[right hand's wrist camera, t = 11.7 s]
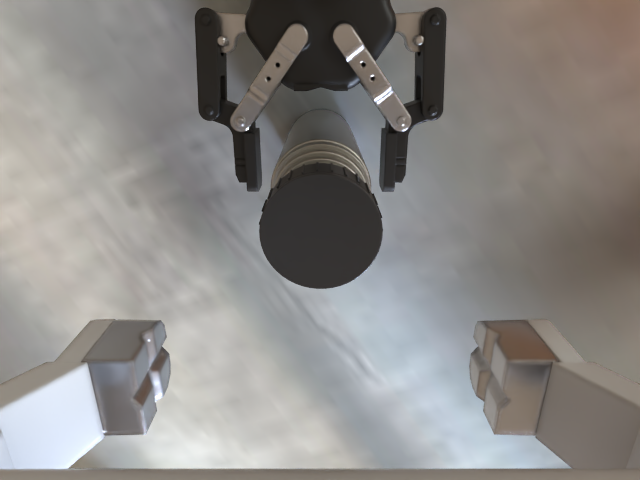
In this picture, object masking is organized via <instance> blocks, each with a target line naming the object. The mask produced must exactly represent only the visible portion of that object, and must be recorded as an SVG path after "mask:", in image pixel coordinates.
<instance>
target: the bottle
mask: <svg viewBox="0 0 640 480" xmlns="http://www.w3.org/2000/svg"><path fill="white" fill-rule="evenodd" d="M316 162H319V163H327V164H330V163H333V164H334V165H338V166H341V167H346V169H348V170H349V171H351V172H353V173H354V174H356V173H357V174H358V177H360V178H361V179H362V180H363V181H364V182H365V183H367V184H368V187H369V189H370V191H371V180H370V176H369V172H368V170H367V167H366V165H365V162H364V160H363V158H362V155H361V153H360V150H359V148H358V146H357V143H356V141H355V138H354V136H353V134H352V131H351V129H350V127H349V125H348V123H347V122H346V121H345V120H344V119H343V118H342V117H341V116H340V115H338V114H337V113H335V112H332V111H329V110H324V109H318V110H312V111H309V112H307V113H305V114H303V115H302V116H301V117H299V118H298V119H297V120H296V122H295V123H294V124H293V126H292V128H291V130H290V133H289V135H288V138H287V140H286V142H285V145H284V147H283V150H282V152H281V155H280V157H279V159H278V162H277V164H276V167H275V169H274V172H273V175H272V179H271V188H274V186H275V185H276V184H277V183H278V181H279V178H280V177H281V178H282V177H284V176H285V175H286V174H288V173H289V172H290V170H291V169H292V170H294V169H296V168H299V167H301V166H302V165H303V164H305V165H308V164H315V163H316Z"/></svg>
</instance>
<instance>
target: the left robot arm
mask: <svg viewBox="0 0 640 480" xmlns="http://www.w3.org/2000/svg"><path fill="white" fill-rule="evenodd" d="M395 32H396V33H399V34H400V35H401V36H402V37H403V39H404V45H405V47H406V49H407V50H408V51H410V52H415V100H414V101H411V102H408V103H406V104H402V102H401V101H400V99H399V98H398V96H397V95H396V93H395V92H394V90H393V88H392V86H391V84H390V83H389V81H388V80H387V78H386V77H385V75H384V74H383V72H382V71H381V69H380V68H379V66H378V65H377V63H376V62H375V61H376V60H377V58H378V57H379V55H380V54H381V52H382V51H383V50H384V48H385V47H386V45H387V44H388V43H389V41H390V40H391V38H392V37H393V35H394V33H395ZM195 33H196V57H197V81H198V105H199V113H200V115H201V117H202V118H203V119H205V120H208V121H215V122H218V123H221V124H224V125H226V126H227V127H228V128H229V129H230V130H231V132H232V134H233V143H234V157H235V170H236V176H237V178H238V180H239V182H246V183H247V191H259V190H260V188H261V186H262V170H261V151H260V132H259V128H256V126H255V121H256V119H257V118H258V117H259V115H260V114H261V112H262V111H263V109H264V108H265V106H266V105H267V103H268V102H269V100H270V99H271V98H272V96H273V95H274V94H275V92H276V91H277V89H278V88H279V86H280V85H281V83H283V84H284V85H285V86H287V87H288V88H291V89H294V91H308V90H312V89H315V88H319V87H323V88H326V89H330V90H333V91H348V89H351V88H353V87H355V86H356V85H357V84H359V83H360V84H361V85H362V87H363V88H364V90H365V91H366V93H367V94H368V95H369V97H370V98H371V99H372V101H373V102H374V104H375V105H376V106H377V108H378V109H379V111H380V112H381V114H382V115H383V117H384V118H385V119H386V126H385V128H382V132H381V153H380V175H379V184H380V188H381V190H382V192H393V191H394V187H395V182H402V181H403V179H404V176H405V173H406V158H407V144H408V134H409V132H410V130H411V129H412V128H413V127H414V126H415V125H417V124H420V123H423V122H426V121H428V120H430V121H433V120H436V119H438V118H439V117H440V116H441V115H442V112H443V98H444V70H445V43H446V14H445V12H444V11H443V10H442V9H441V8H438V7H435V8H430V9H428V10H426V11H424V12H413V13H399V14H395V13H394V11H393V9H392V7H391V3H390V0H251V4H250V7H249V10H248V12H247V14H233V13H218V12H216V11H214V10H212V9H209V8H201V9H199V10H198V11H197V13H196V15H195ZM244 33H247V35H248V37H249V38H250V40H251V41H252V43H253V44H254V45H255V47H256V48H257V50H258V51H259V52H260V54H261V55H262V57H263V58H264V59H265V61H266V63H265V65H264V66H263V68H262V69H261V71H260V72H259V74H258V75H257V77H256V78H255V80H254V81H253V83H252V84H251V86H250V87H249V89H248V91H247V93H246V95H245V96H244V98H243V99H242V101H241V102H240V104H239V105H238V104H235V103H232V102H230V101H227V68H226V53H230V52H233V51H234V50H235V49H236V47H237V41H238V38H239V37H240V36H241V35H242V34H244Z"/></svg>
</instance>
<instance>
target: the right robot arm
mask: <svg viewBox="0 0 640 480" xmlns="http://www.w3.org/2000/svg"><path fill="white" fill-rule="evenodd" d="M166 337H167V336H166V331H165V326H164V324H163V322H162V321H161V320H115V319H96V320H92V321H90V322H89V323H88V324H87V325H86V326H85V328H84V329H83V330H82V331H81V332H80V333H79V334H78V335H77V337H76V338H75V339H74V340H73V341H72V342H71V343H70V344H69V346H68V347H67V348H66V349H65V350H64V351H63V352H62V354H61V355H60V356H59V357H58V358H57V359H56V360H55V361H54V362H46V363H44V364H42V365H40V366H38V367H35V368H33V369H31V370H29V371H27V372H25V373H23V374H21V375H19V376H17V377H15V378H12V379H10V380H8V381H6V382H4V383H2V384H0V480H640V384H638V383H636V382H634V381H632V380H630V379H627V378H625V377H623V376H621V375H619V374H617V373H615V372H613V371H611V370H609V369H607V368H605V367H602V366H600V365H598V364H596V363H594V362H586V361H585V360H584V359H583V358H582V357H581V356H580V355H579V354H578V352H577V351H576V350H575V349H574V348H573V347H572V346H571V345H570V343H569V342H568V341H567V340H566V339H565V338H564V337H563V335H562V334H561V333H560V332H559V331H558V330H557V329H556V328H555V326H554V325H553V324H552V323H551V322H550V321H548V320H546V319H532V320H500V321H477V324H476V326H475V330H474V336H473V337H474V339H475V341H476V343H477V345H478V347H477V348H476V349H475V350H474V351H473V352H472V353H471V357H470V365H469V368H470V380H471V383H472V387H473V390H474V392H475V394H476V396H477V397H478V398H480V399H481V400H483V401H484V408H483V412H484V414H485V416H486V418H487V420H488V422H489V424H490V426H491V429H492V431H493V433H494V434H500V435H536V438H537V439H538V440H539V441H540V442H542V443H543V444H544V445H545V446H546V447H548V448H549V449H550V450H551V451H552V452H554V453H555V454H556V455H557V456H558V457H559V458H561V459H562V460H563V461H564V462H565V463H567V464H568V465H569V466H570V467H571V468H573V469H68V468H69V467H70V466H71V465H72V464H74V463H75V462H76V461H77V460H78V459H79V458H81V457H82V456H83V455H84V454H85V453H87V452H88V451H89V450H90V449H91V448H93V447H94V446H95V445H96V444H97V443H99V442H100V441H101V440H102V439H103V438H104V435H139V434H146V433H147V431H148V429H149V427H150V424H151V422H152V420H153V418H154V416H155V414H156V412H157V408H156V401H157V400H159V399H160V398H162V397H163V396H164V394H165V392H166V390H167V387H168V383H169V378H170V356H169V353H168V352H167V351H166V350H165V349H164V348H163V347H162V345H163V343H164V341H165V339H166Z"/></svg>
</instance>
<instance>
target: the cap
mask: <svg viewBox="0 0 640 480" xmlns="http://www.w3.org/2000/svg"><path fill="white" fill-rule="evenodd" d="M267 199H268V200H267ZM267 199H266V201H265V203H264V206H263V208H262V212H263V213H262V216H261V219H260V222H259V225H260V229H259V233H260V241H261V246H262V249H263V252H264V254H265V256H266V258H267V260H268V261H269V263H270V264H271V265H272V267H273V268H274V269H275V270H276V271H277V272H278V273H279V274H281V275H282V276H283V277H285V278H286V279H288V280H289V281H291V282H293V283H295V284H298V285H301V286H304V287H309V288H316V289H326V288H333V287H338V286H341V285H344V284H347V283H349V282H351V281H353V280H354V279H356V278H357V277H359V276H360V275H361V274H363V273H364V272H365V271H366V270H367V269H368V268H369V266H370V265H371V264H372V263H373V261H374V260H375V258H376V256H377V254H378V252H379V249H380V246H381V242H382V233H383V228H382V220H381V218H382V215H381V213H380V210H379V208H378V206H377V205H378V203H377V201H376V198H375V196H374V193H373V194H372V193H371V191H370V189H369V187H368V184H367V183H365V182H364V181H363V180H362V179H361V178H360V177H358V174H357V173H356V174H354V173H353V172H351V171H349V170H348V169H346V167H341V166H338V165H334V164H333V163H330V164H327V163H319V162H316V163H315V164H308V165H305V164H303V165H302V166H301V167H299V168H296V169H294V170H292V169H291V170H290V172H289V173H288V174H286V175H285V176H284V177H282V178H281V177H280V178H279V181H278V183H277V184H276V185H275V186H274V188H271V190H270V193H269V195H268V198H267Z"/></svg>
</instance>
